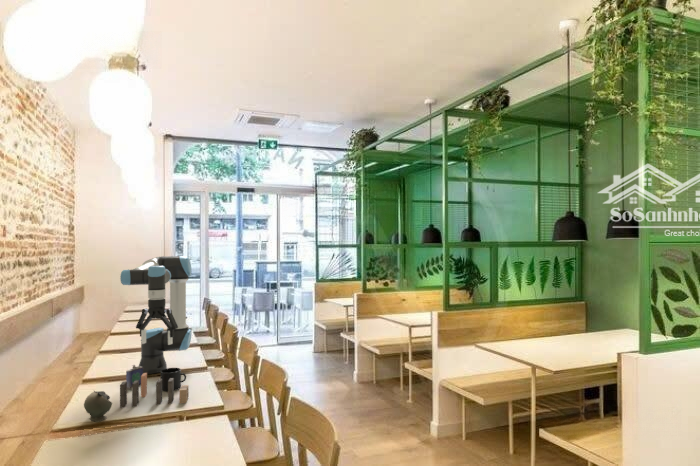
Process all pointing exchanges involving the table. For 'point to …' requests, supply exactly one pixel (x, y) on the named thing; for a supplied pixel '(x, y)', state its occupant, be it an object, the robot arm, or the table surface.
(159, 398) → the domino
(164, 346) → the robot arm
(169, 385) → the domino
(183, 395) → the bookend
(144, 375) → the domino
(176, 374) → the mug
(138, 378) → the flask
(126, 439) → the table surface
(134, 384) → the domino
